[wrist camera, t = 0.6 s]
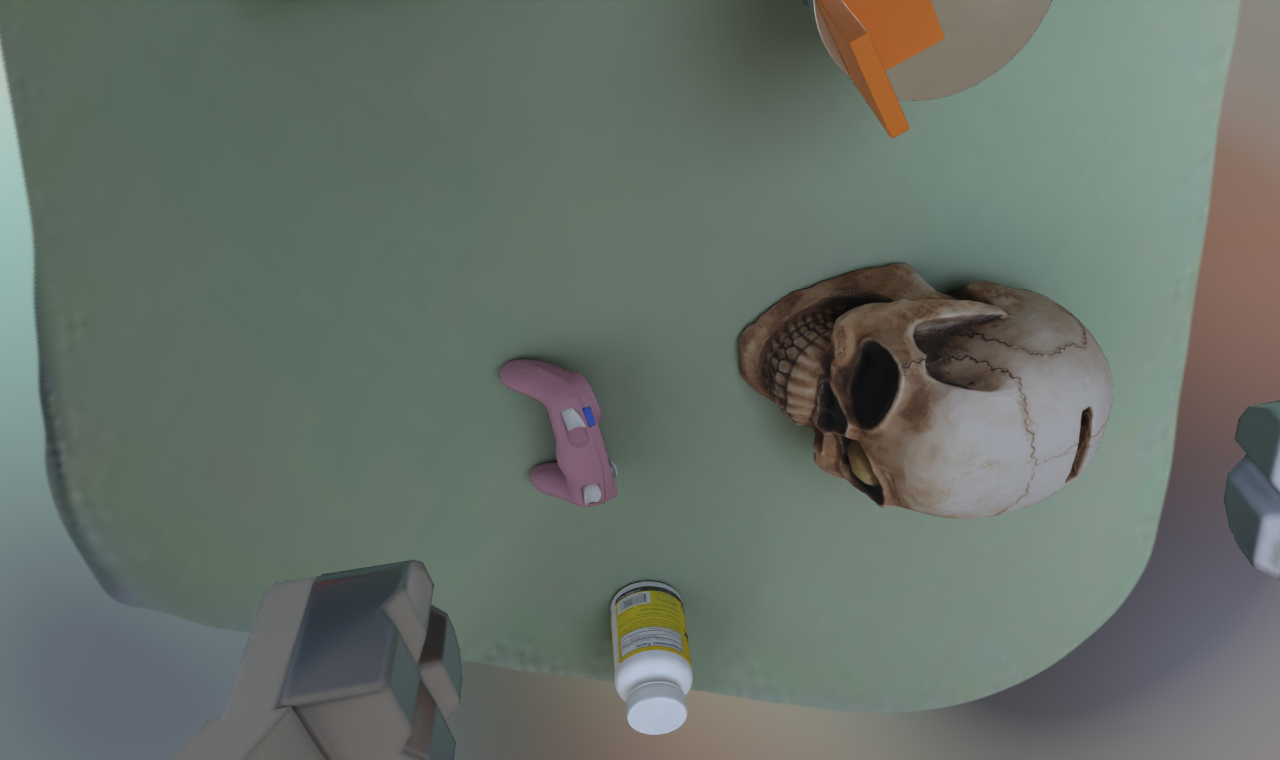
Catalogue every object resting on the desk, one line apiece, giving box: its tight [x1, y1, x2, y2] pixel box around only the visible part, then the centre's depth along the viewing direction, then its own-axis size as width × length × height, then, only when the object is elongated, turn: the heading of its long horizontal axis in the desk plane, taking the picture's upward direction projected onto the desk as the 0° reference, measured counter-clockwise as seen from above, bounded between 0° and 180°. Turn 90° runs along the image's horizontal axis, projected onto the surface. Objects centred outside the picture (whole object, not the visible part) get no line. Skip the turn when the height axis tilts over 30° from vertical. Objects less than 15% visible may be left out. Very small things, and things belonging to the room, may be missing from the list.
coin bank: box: [739, 263, 1113, 520], centre depth 57 cm, size 16×17×13 cm
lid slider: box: [817, 0, 945, 138], centre depth 35 cm, size 4×4×6 cm
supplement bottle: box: [610, 581, 693, 735], centre depth 70 cm, size 5×5×10 cm
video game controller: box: [499, 359, 618, 507], centre depth 61 cm, size 10×5×7 cm, turn 9°
